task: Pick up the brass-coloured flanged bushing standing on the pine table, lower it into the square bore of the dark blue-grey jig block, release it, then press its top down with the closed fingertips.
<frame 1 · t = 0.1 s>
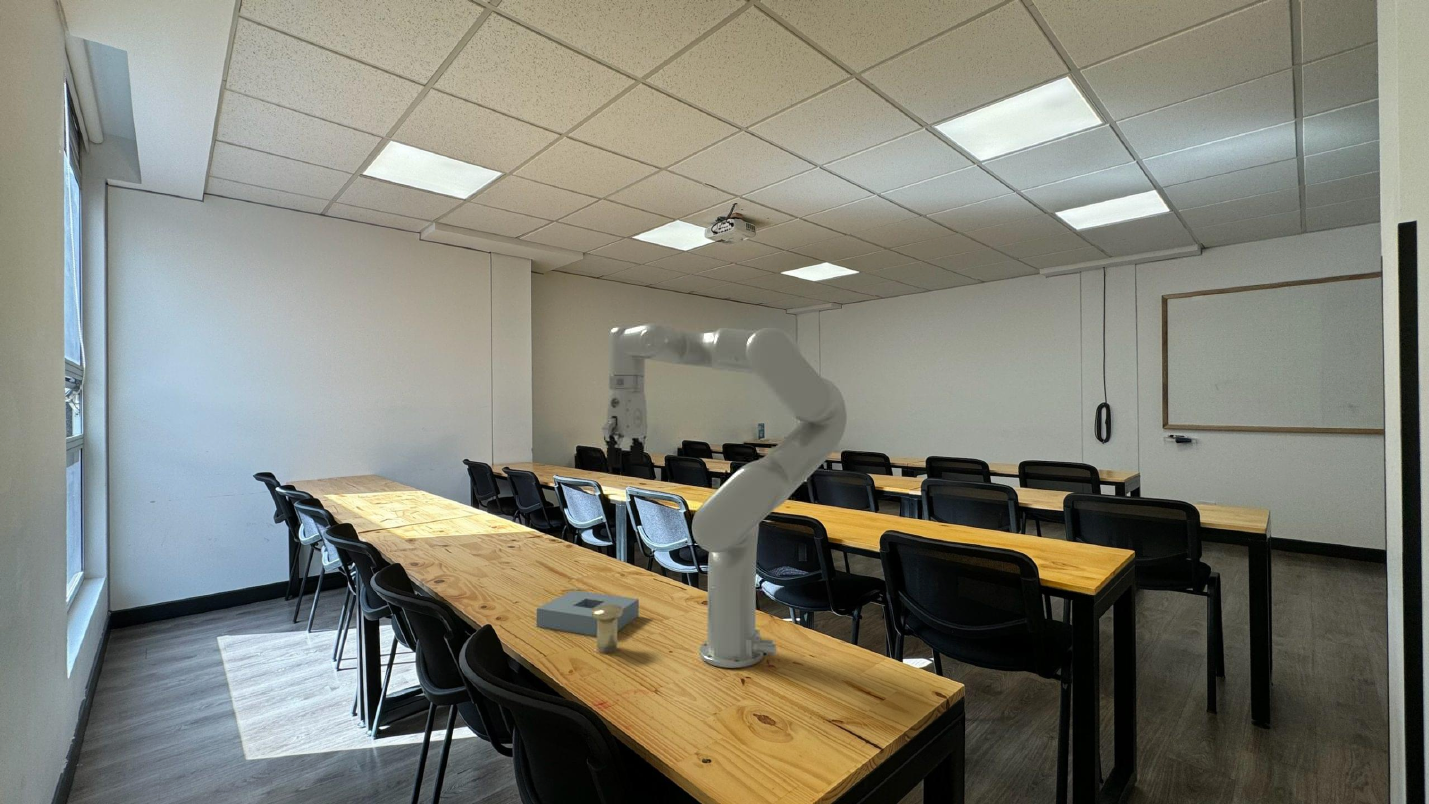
hand: (625, 465, 123), 36 cm above the table, tool pointing down, fingers open, 9 cm apart
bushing: (607, 649, 115), on the table
jig: (588, 621, 131), on the table
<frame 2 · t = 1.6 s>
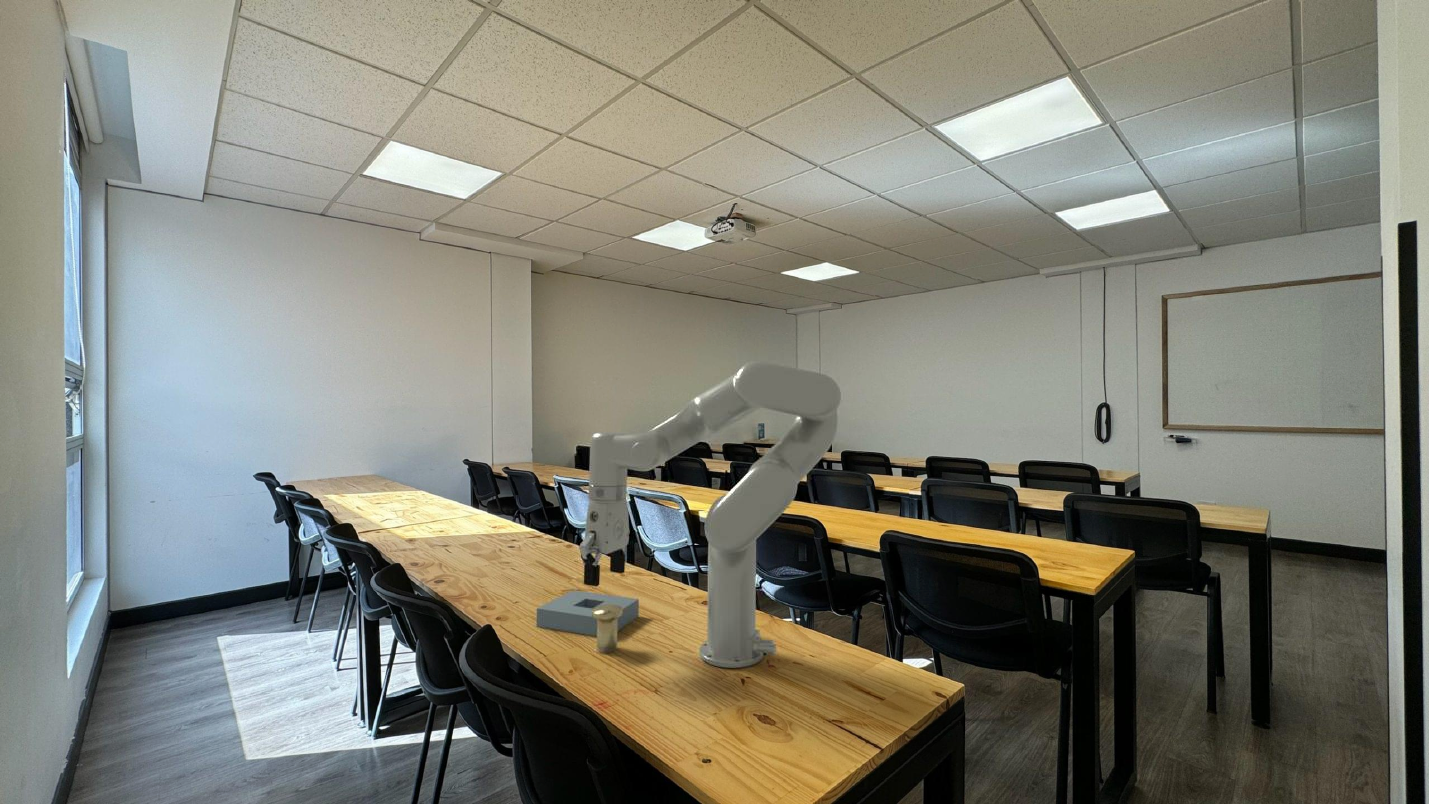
hand: (604, 578, 116), 14 cm above the table, tool pointing down, fingers open, 9 cm apart
nothing on the table moved.
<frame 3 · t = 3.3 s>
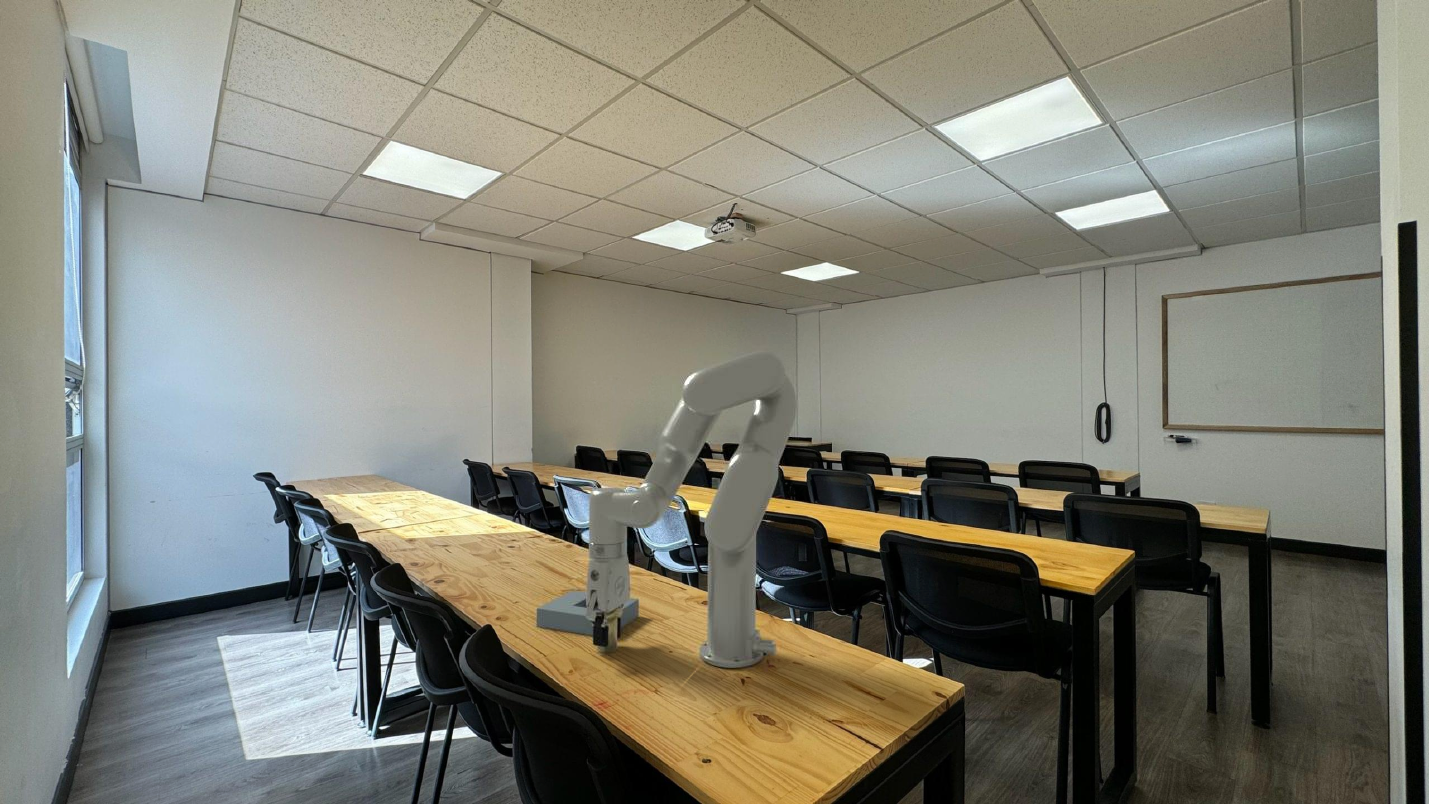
hand: (607, 640, 116), 2 cm above the table, tool pointing down, fingers closed on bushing, 4 cm apart
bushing: (606, 649, 115), on the table, touching gripper
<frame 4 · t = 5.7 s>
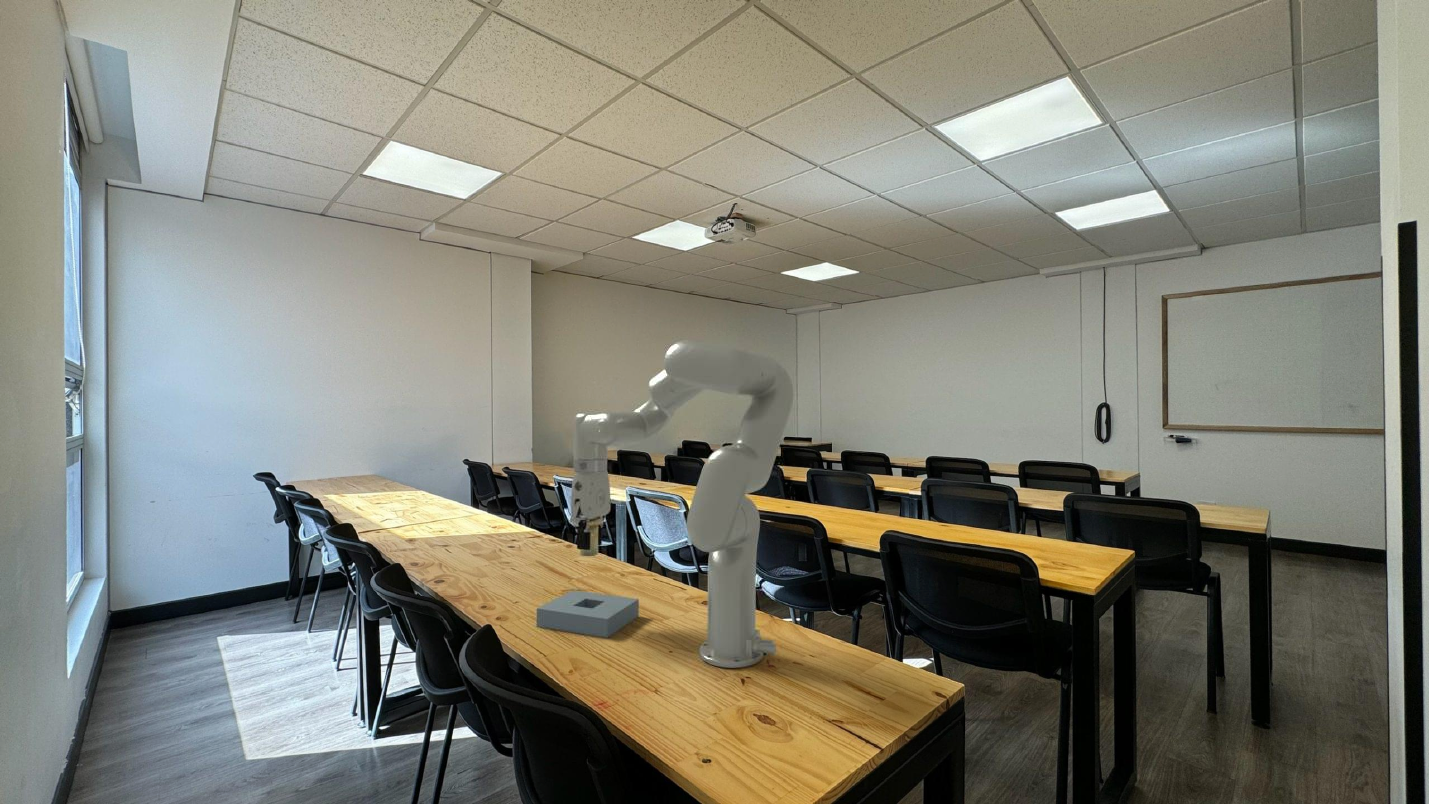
hand: (589, 546, 131), 17 cm above the table, tool pointing down, fingers closed on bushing, 4 cm apart
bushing: (589, 554, 131), point 15 cm above the table, touching gripper
when the fingers open (4 cm above the table, at t = 8.3 s): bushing drops 2 cm, resting in jig.
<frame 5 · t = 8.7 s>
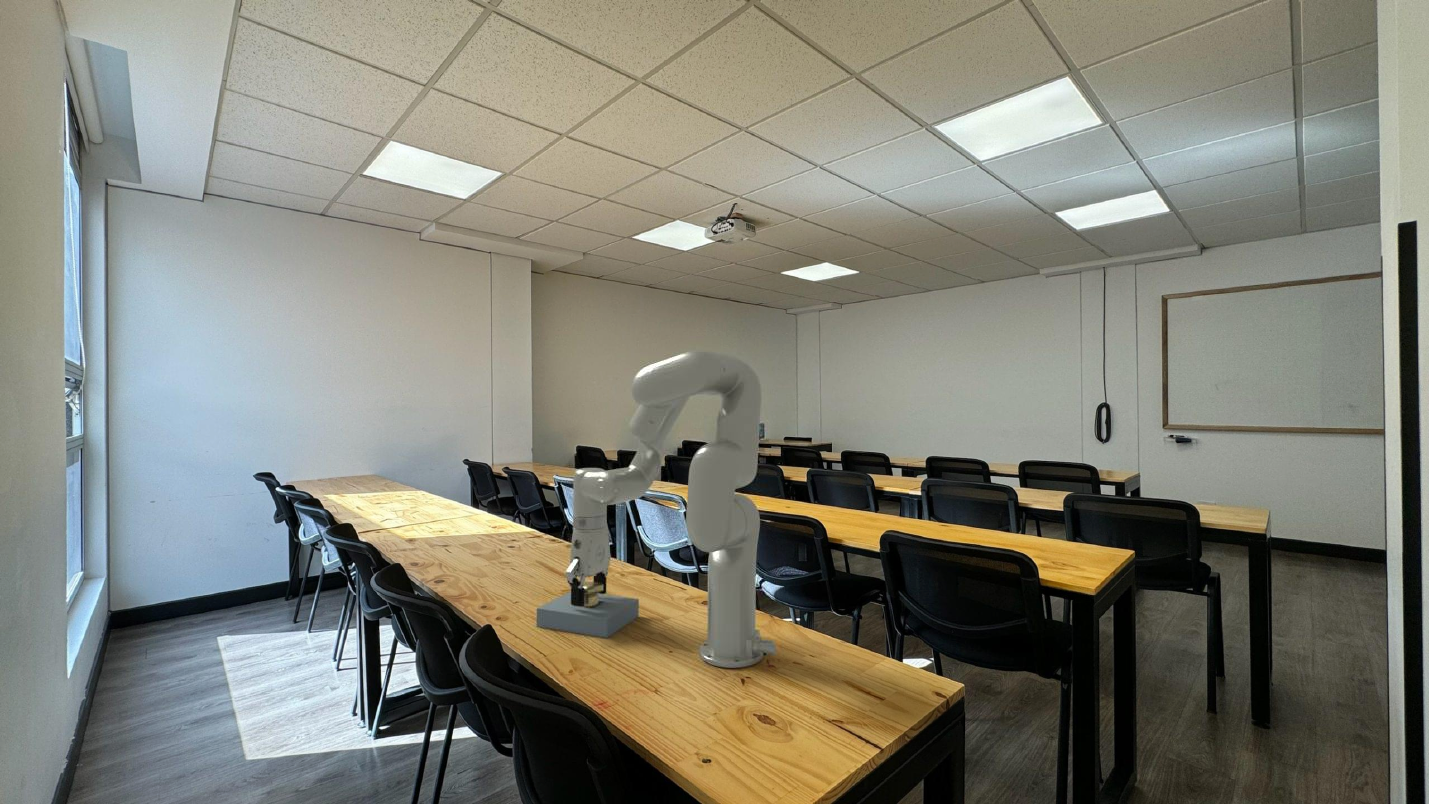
hand: (589, 598, 131), 5 cm above the table, tool pointing down, fingers open, 8 cm apart
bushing: (589, 620, 131), resting in jig
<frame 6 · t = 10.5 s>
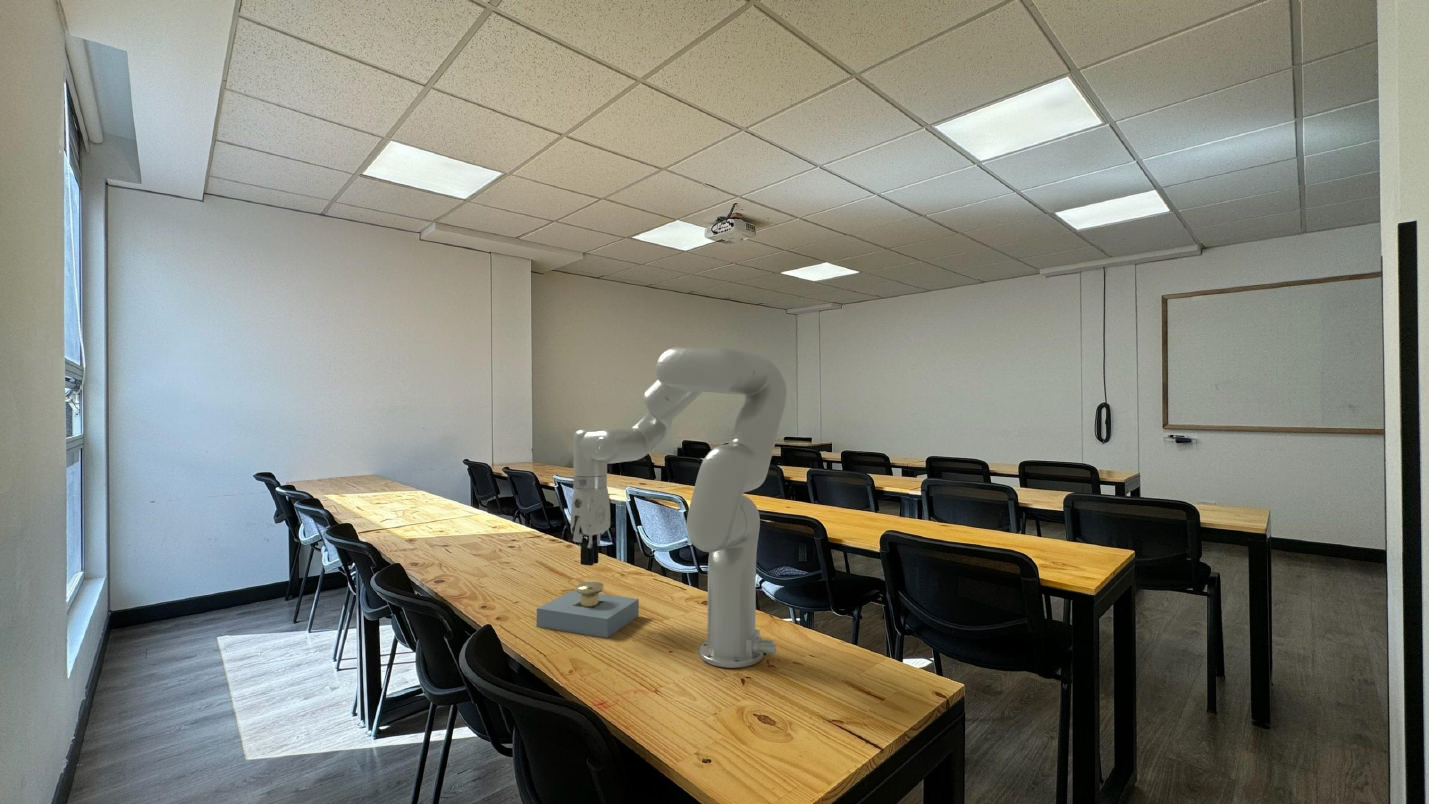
hand: (589, 563, 131), 13 cm above the table, tool pointing down, fingers closed
nothing on the table moved.
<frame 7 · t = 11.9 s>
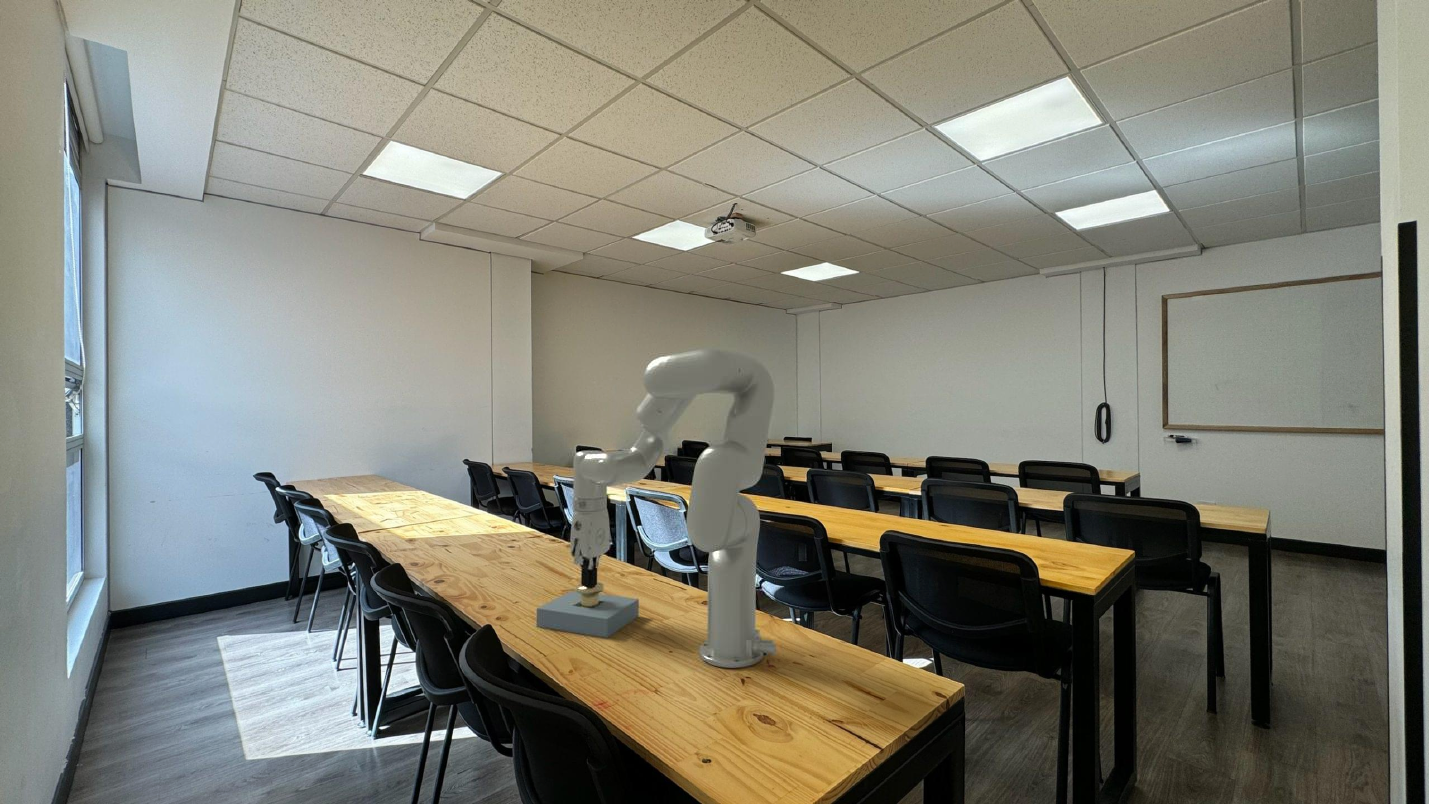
hand: (589, 585, 131), 8 cm above the table, tool pointing down, fingers closed
nothing on the table moved.
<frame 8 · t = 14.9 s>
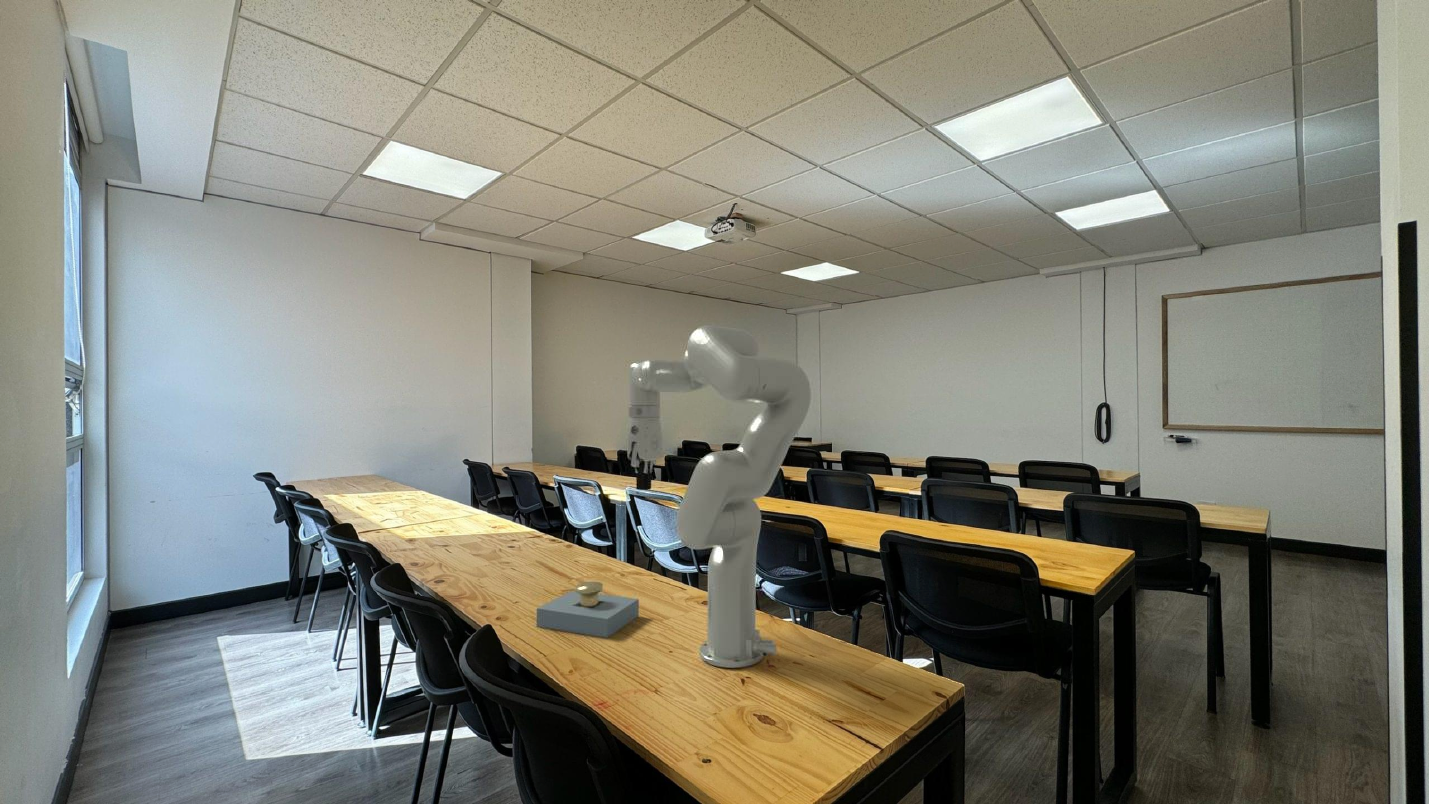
hand: (643, 489, 139), 29 cm above the table, tool pointing down, fingers closed
nothing on the table moved.
at the end: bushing 0.3 cm off-centre on the jig, point 0.0 cm above the jig's base; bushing tilted 1°; the gripper is holding nothing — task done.
